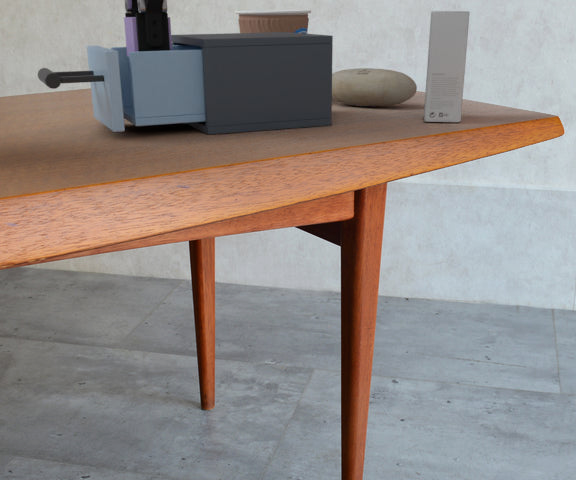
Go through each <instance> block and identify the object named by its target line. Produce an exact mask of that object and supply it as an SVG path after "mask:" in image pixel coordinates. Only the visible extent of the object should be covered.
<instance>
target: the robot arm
mask: <svg viewBox="0 0 576 480" xmlns="http://www.w3.org/2000/svg"><path fill="white" fill-rule="evenodd" d="M124 9H125V12H124V15H125V16H124V17H136V26H137V39H138V51H139V52H140V51H170V44H169V28H168V17H169V15H168V0H124Z"/></svg>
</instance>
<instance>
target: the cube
mask: <svg viewBox="0 0 576 480" xmlns="http://www.w3.org/2000/svg"><path fill="white" fill-rule="evenodd" d="M123 22H124V35H125V47H126V48H127V56H128V57H129V52H139V51H138V39H137V26H136V17H125V16H124V17H123ZM171 25H172V23H171V17H170V16H168V28H169V44H170V50H172V40H171V35H172V28H171V27H172V26H171Z"/></svg>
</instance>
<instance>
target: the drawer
mask: <svg viewBox="0 0 576 480" xmlns="http://www.w3.org/2000/svg"><path fill="white" fill-rule="evenodd" d="M86 53H87V62H88V64H87V65H88V70H71V71H68V70H67V71H53V70H51V69H49V68H47V67H42V68H40V69H39V70H38V72H37V78H38V80H39V81H40V82H41V83H43V84H44V85H45V86H46V87H48V88H50V89H54V90H55V89H58V88H59V87H60V86H61V84H80V83H90V92H91V101H92V103H91V104H92V112H93V118H94V119H95V120H97V121H98V122H100V123H101V124H102V125H103V126H105V127H106V128H108V129H109V130H110V131H111V132H113V133H119V132H125V130H126V129H125V121H127V122H129V123H131V124H132V125H133V126H135V127H146V126H159V125H161V126H162V125H173V124H174V125H175V124H186V123H191V122H205V100H204V79H203V58H202V47H199V46H193V45H172V50H170V51H140V52H129V57H128V56H127V48H126V46H112V47H110V48H109V47H108V48H107V47H103V46H100V45H86Z"/></svg>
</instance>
